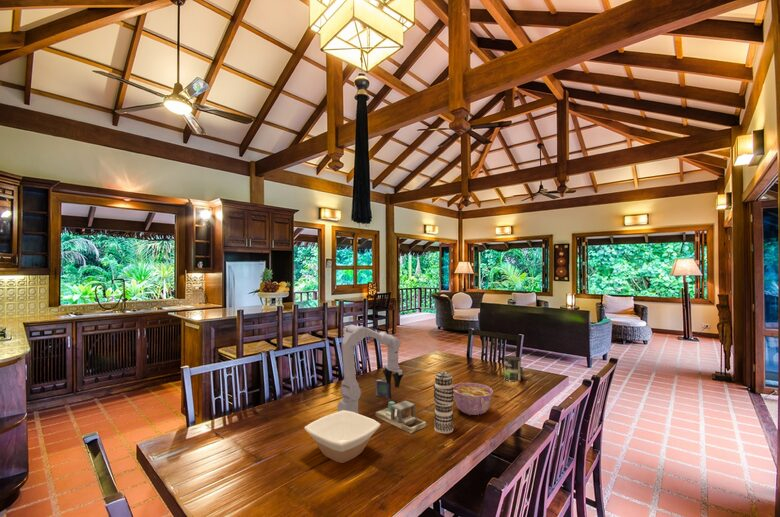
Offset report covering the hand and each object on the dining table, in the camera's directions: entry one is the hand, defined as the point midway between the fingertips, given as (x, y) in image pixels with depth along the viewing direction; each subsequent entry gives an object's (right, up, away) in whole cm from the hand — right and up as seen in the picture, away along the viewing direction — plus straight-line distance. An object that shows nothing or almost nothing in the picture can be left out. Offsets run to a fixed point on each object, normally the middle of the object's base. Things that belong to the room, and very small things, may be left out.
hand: (392, 385), depth 187 cm
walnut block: (+5, -6, -23) cm, 24 cm away
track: (+3, -10, -21) cm, 23 cm away
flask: (-5, -11, +10) cm, 16 cm away
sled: (+3, -7, -21) cm, 22 cm away
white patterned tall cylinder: (+23, -10, -29) cm, 38 cm away
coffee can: (+78, -11, +41) cm, 89 cm away
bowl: (-20, -9, -49) cm, 54 cm away
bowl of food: (+40, -10, -11) cm, 43 cm away
